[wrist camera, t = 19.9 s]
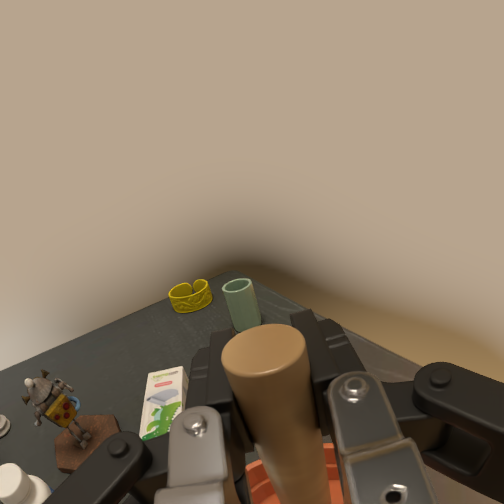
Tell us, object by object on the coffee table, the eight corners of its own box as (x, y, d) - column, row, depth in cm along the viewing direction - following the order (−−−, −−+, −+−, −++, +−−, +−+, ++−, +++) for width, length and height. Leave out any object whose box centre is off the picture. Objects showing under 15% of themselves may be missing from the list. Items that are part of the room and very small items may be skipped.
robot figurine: (98, 407, 36) (55, 335, 32) (142, 429, 32) (93, 349, 28) (45, 455, 27) (-11, 383, 24) (82, 491, 23) (13, 414, 19)
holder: (237, 335, 48) (224, 295, 45) (232, 322, 52) (220, 284, 50) (264, 326, 48) (254, 286, 46) (257, 314, 52) (247, 275, 50)
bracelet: (212, 307, 58) (207, 291, 57) (171, 317, 58) (165, 301, 57) (212, 290, 65) (208, 276, 64) (175, 299, 65) (170, 285, 64)
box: (194, 392, 37) (214, 611, 11) (162, 398, 37) (158, 611, 10) (182, 365, 36) (191, 606, 9) (148, 373, 35) (128, 602, 9)
